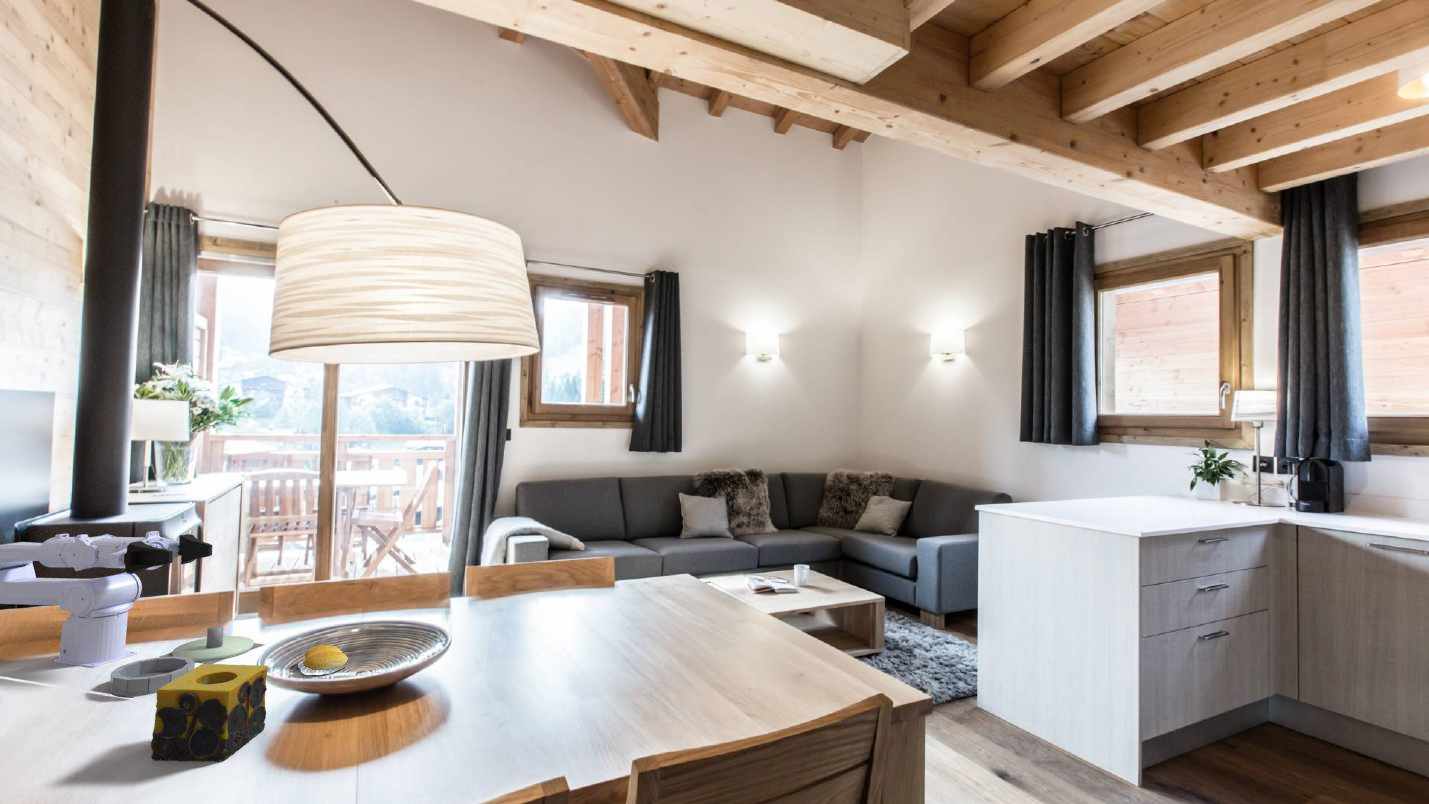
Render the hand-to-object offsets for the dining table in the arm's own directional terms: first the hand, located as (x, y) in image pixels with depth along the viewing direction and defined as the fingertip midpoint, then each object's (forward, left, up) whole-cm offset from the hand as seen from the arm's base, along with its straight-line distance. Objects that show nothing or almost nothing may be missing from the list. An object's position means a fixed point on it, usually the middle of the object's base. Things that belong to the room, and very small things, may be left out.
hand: (191, 553), depth 125 cm
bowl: (+1, -6, -22) cm, 22 cm away
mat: (-4, +10, -22) cm, 24 cm away
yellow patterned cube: (+29, -20, -22) cm, 41 cm away
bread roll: (+21, +10, -22) cm, 32 cm away
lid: (-4, +10, -21) cm, 24 cm away
